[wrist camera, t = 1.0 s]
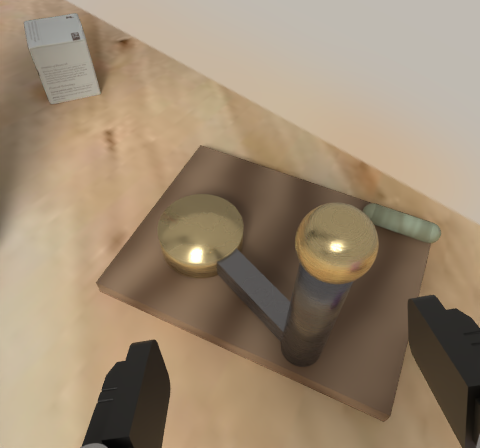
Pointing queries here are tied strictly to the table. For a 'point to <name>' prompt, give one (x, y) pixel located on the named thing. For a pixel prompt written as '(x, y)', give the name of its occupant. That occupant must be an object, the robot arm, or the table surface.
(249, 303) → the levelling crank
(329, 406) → the table surface
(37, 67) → the skincare box
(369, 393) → the walnut base
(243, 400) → the table surface
